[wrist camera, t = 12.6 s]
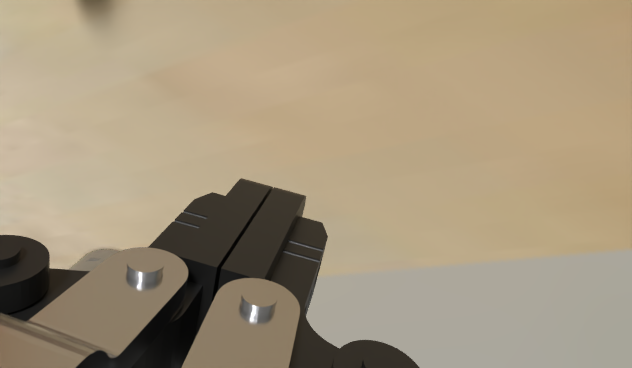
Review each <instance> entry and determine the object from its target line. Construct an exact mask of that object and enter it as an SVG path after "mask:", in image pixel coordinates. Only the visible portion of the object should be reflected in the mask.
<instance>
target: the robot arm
mask: <svg viewBox="0 0 632 368" xmlns="http://www.w3.org/2000/svg"><path fill="white" fill-rule="evenodd" d="M305 200H306V196H304V195H301V194H297V193H293V192H290V191H286V190H282V189H279V188H275V187H274V188H273V187H271V186H267V185H264V184H260V183H256V182H253V181H249V180H245V179H242V178H241V179H240V180H239V181H238V182H237V183H236V184H235V185H234V187H233V188H232V189H231V190H230V191H229V193H228V194H227V195H226V196H223V195H220V194H216V193H213V192H212V193H210V194H207V195H205V196H202V197H199V198H197V199H194V200H193V201H192V202H191V203H190V205H189V206H188V207H187V208H186V209H185V210H184V212H183V213H181V214H180V215H179V216H178V217H177V218H176V219H175V222H172V223H171V224H170V225H169V226H168V227H167V228H166V229H165V230H164V231H163V232H162V233H161V234H160V236H159V237H158V238H157V239H156V240H155V241H154V242H153V243H152V244H151V245H150V246H149V247H148V248H147V247H142V248H131V249H126V250H122V251H117V250H112V249H100V250H96V251H92V252H90V253H88V254H86V255H85V256H84V257H83V258H81V259H80V260H79V261H78V262H77V263H76V264H74V265H73V266H72V267H71V268H70V269H69V270H64V269H50V268H49V252H48V250H47V248H46V247H45V246H44V245H43V244H41V243H40V242H38V241H36V240H34V239H31V238H27V237H22V236H15V235H0V368H419V367H418V365H417V364H416V363H415V362H414V361H413V360H412V359H411V358H409V356H407V355H406V354H405V353H403V352H402V351H400V350H398V349H397V348H394V347H393V346H390V345H388V344H385V343H382V342H378V341H372V340H358V341H353V342H350V343H348V344H346V345H344V346H343V347H341V348H340V349H339V348H337V347H335V346H334V345H332V344H330V343H329V342H327V341H326V340H324V339H323V338H322V337H320V336H319V335H318V334H317V333H316V332H315V331H314V330H313V329H312V327H311V326H310V325H309V323H308V321H307V319H306V314H307V311H308V308H309V305H310V301H311V298H312V295H313V292H314V288H315V284H316V280H317V276H318V272H319V269H320V265H321V261H322V257H323V253H324V249H325V245H326V241H327V237H328V236H327V233H326V231H325V228H324V226H323V223H321V222H318V221H314V220H310V219H307V218H303V217H302V215H303V210H304V206H305Z"/></svg>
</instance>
